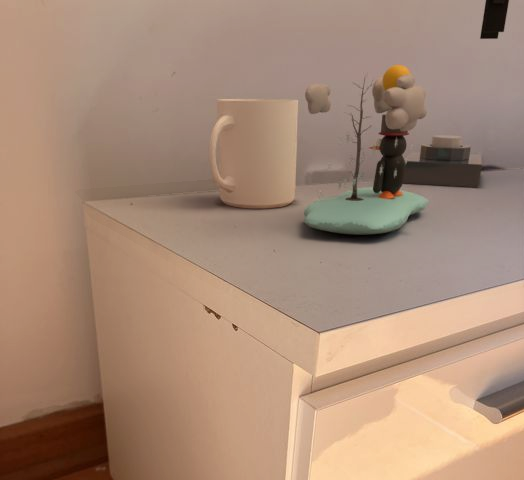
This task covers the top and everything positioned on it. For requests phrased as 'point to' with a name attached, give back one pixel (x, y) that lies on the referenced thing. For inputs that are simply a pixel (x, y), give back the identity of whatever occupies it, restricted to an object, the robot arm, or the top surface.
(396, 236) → the top surface
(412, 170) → the push button box
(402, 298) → the top surface
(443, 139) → the flush button
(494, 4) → the robot arm
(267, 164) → the mug
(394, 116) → the penguin figurine
